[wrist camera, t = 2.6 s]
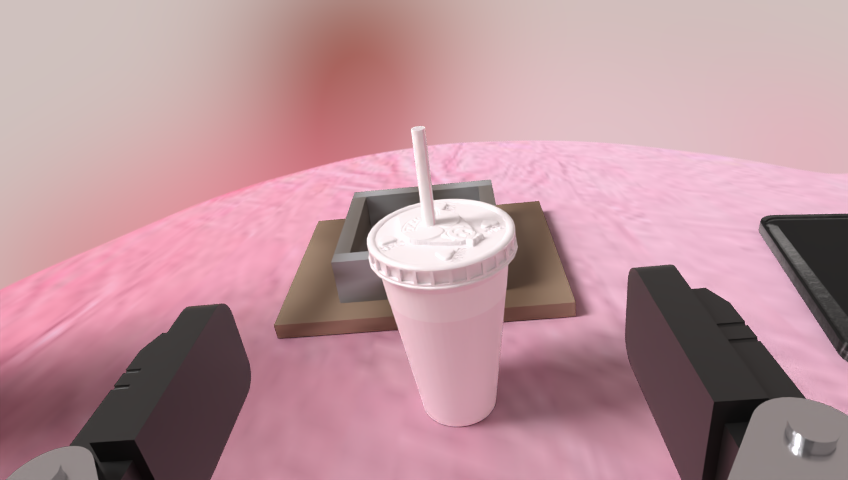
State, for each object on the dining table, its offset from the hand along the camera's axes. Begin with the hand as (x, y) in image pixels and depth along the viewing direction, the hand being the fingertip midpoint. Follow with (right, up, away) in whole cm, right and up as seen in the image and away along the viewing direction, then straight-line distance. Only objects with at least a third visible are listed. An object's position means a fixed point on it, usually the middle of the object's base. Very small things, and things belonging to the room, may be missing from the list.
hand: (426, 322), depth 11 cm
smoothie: (+2, -6, +17) cm, 18 cm away
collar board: (0, 0, +28) cm, 28 cm away
